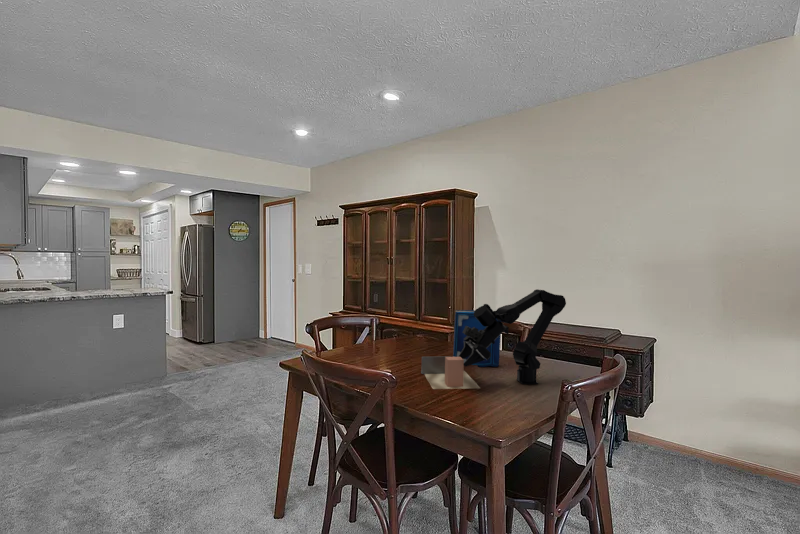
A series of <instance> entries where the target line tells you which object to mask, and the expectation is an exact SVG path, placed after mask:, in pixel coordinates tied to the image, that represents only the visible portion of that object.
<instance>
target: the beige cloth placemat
mask: <svg viewBox="0 0 800 534" xmlns="http://www.w3.org/2000/svg"><path fill="white" fill-rule="evenodd" d="M424 376H425V378H426V380H427V382H428V383H429V385H430V387H431V388H432V389H433V390H454V389H455V390H456V389H457V390H458V389H459V390H462V389H463V390H465V389H466V390H467V389H469V390H470V389H481V387H480V386H479V385H478V383H477V382H476V381H475V380H474V379H473V378H472V377H471V376H470V375H469V374H468V372H466V371H465V370H464V371H463V386H458V387H447V385H446V384H445V374H424Z"/></svg>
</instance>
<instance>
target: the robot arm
mask: <svg viewBox="0 0 800 534" xmlns="http://www.w3.org/2000/svg"><path fill="white" fill-rule="evenodd" d="M539 303H541V312H540V313H539V316H538V318H537V319H536V321H535V323H534V324H533V326H532V328H531V329H530V332H529V333H528V335H527V337H526V339H525V340H523V341H520V340H518V341H517V342H516V344H515V347H513V349H512V350H513V352H512V357H513V360H514V362H515V365H516V366H518V369H517V370H516V381H518V382H519V383H520V384H522V385H538V384H539V382H538V381H537V370H539V369H541V368H540V367H541V364H542V363H541V362H540V361H539V360H538V359H537V355H538V345H539V343H540V342H541V340H542V338H543V336H544V334H545V333H546V331H547V329H548V328H549V326H550V324H551V322H552V320H553V319H554V317H555V316H557V315H558V314H560V313H561V312H562V311H563V309H565V307H566V305H567V300H566V297H565V296H564V295H562V294H554V293H552V292H549V291H546V290H544V289H539V288H538V289H534V290H533V291H532V292H531V293H529V294H527V295H526V296H524V297H522V298H521V299H519V300H517V301H515V302H514V303H512V304H507V305H503V306H500V307H498V308H497V309H495V310H493V309H492V308H491V306H490V305H489V304H488V303H484V304H483V305H481V306H479V307H478V308H476V309H475V312H474V316H475V317H476V319H477V320H478V321H479V322H480V323H481V324H482V325H483V326H487V327H486V328H485V329H484V330H482V329H481V330H479V331H478V329H477V328H475V327H473V328H470V327H468V326H465V328H464V330H463V332H462V333H464V334H465V335H467V336H466V337H465V338H464V340H465V341H466V342H465V341H463V342H464V347H463V349H462V351H461V353H460V355H459V356H458V357H461V358H462V359H464V358H466V357H468V356H469V357H468V359H467V360H466V361H465V363H464V364H463V365H464V368H466V367H469V366H473V365H472V364H474V363H477V362H480V361H485V359H486V360H488V359H489V358H490V357H491V353H490V352H489V351H488V350H487V349H486V348H487V347H488V346H489V345H490V344H491V343H492V344H494V343H495V341H494V340H495V339H496V338H497V337H498V336H499V335H500V334H501V335H502V334H503V333H505V334H506V335H509V332H510V331H509V326H507V325H504V324H509V325H512V324H514V323H515V322H516V321H517V320H518V319H519V318H520V316H521V314H523V313H524V312H525V311H527V310H529V309H530V308H532V307H533V306H535V305H537V304H539ZM496 319H497V320H498V321H497V320H496ZM501 335H500V336H501ZM484 358H485V359H484Z"/></svg>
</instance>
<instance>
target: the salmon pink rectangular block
mask: <svg viewBox="0 0 800 534" xmlns="http://www.w3.org/2000/svg"><path fill="white" fill-rule="evenodd" d="M463 364H464V360H463V359H462V358H461V357H453V356H450V357H445V384H446V385H447V387H458V386H463V371H465V370H464V368H465V366H464V365H463Z"/></svg>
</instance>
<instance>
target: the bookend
mask: <svg viewBox="0 0 800 534" xmlns="http://www.w3.org/2000/svg"><path fill="white" fill-rule="evenodd" d="M445 357H451V356H450V355H449V356H445V355H444V356H442V355H441V356H440V355H439V356H421V370H420V373H421V374H422V375H425V374H445Z"/></svg>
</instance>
